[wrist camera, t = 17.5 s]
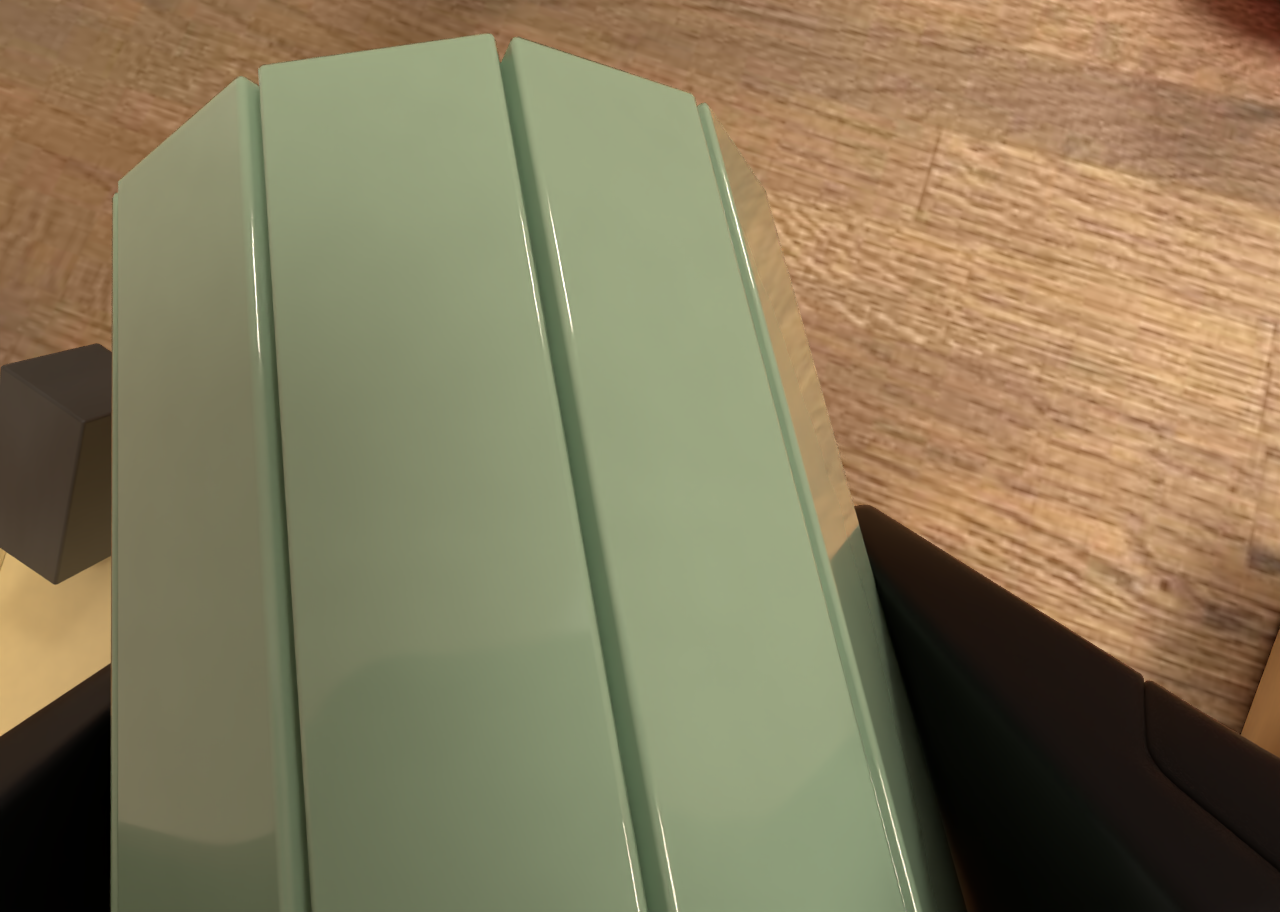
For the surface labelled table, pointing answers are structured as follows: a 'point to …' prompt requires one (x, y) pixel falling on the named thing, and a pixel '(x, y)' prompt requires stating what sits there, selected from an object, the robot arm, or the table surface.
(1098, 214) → the table surface
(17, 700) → the tray
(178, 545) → the grooved sage-green cylinder
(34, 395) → the black block
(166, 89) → the table surface
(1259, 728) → the wooden block
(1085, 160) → the table surface
